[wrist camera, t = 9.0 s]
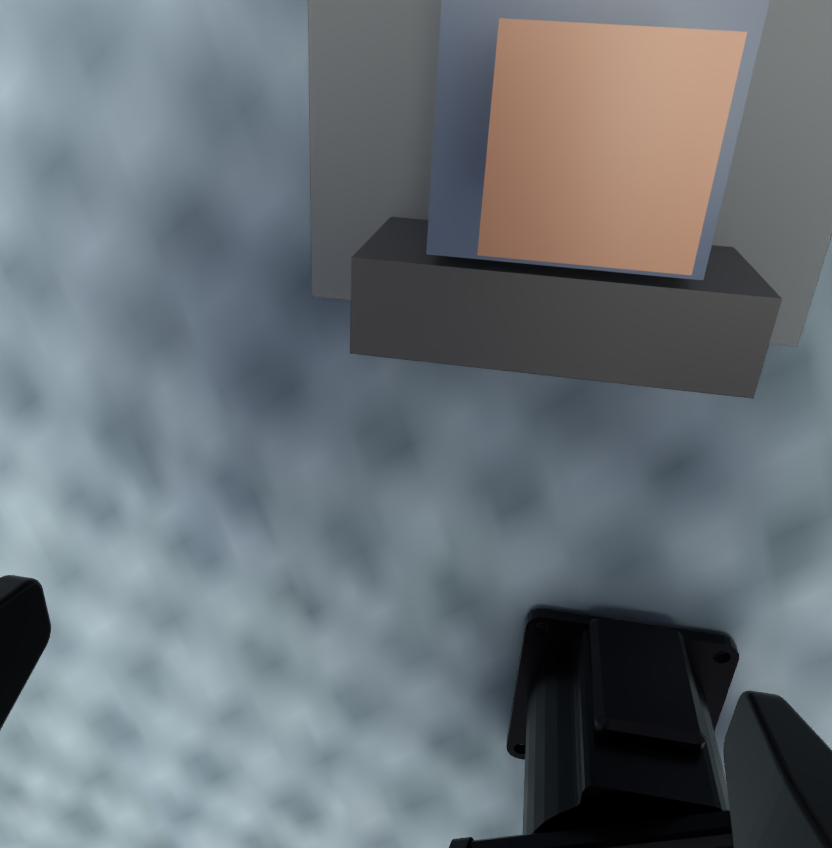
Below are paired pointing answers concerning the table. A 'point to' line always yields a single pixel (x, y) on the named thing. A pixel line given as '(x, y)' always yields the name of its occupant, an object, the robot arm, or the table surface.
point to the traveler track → (401, 133)
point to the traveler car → (588, 130)
